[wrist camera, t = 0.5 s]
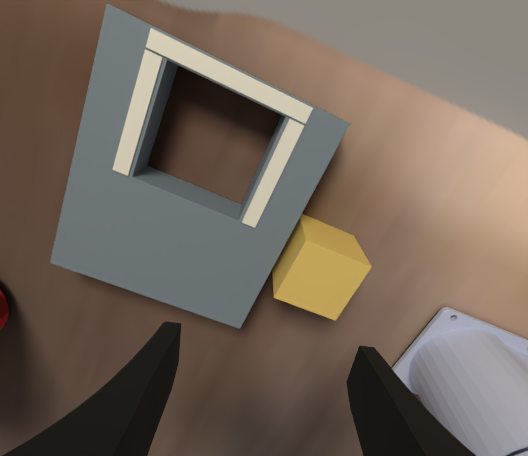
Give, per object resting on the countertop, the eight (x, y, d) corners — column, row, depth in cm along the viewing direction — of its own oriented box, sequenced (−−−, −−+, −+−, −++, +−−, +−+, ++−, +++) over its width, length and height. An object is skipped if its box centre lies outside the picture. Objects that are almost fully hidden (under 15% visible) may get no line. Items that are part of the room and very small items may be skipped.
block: (353, 235, 22) (371, 267, 18) (323, 282, 23) (335, 320, 20) (298, 211, 21) (306, 240, 17) (271, 262, 23) (273, 297, 19)
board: (339, 117, 19) (350, 124, 16) (242, 304, 24) (239, 329, 22) (128, 13, 17) (105, 2, 14) (72, 243, 22) (49, 263, 19)
